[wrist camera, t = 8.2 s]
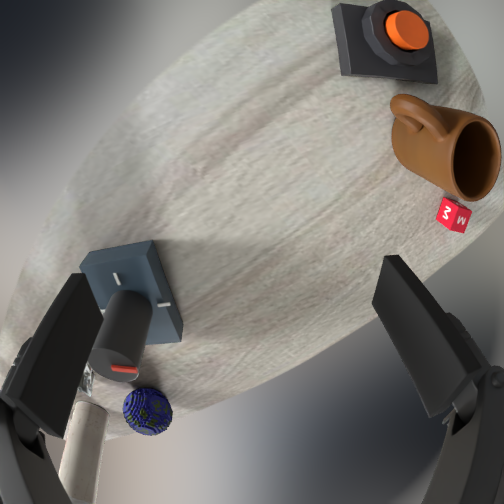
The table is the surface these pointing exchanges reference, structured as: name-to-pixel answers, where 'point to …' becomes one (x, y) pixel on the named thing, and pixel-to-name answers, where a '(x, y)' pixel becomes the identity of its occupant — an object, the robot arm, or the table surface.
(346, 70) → the push button switch
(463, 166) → the mug
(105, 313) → the temp dial
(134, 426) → the ball
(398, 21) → the round orange button
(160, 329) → the dial panel
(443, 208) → the dice
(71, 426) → the thermos bottle
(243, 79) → the table surface
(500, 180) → the table surface
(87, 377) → the grey jagged hollow block
